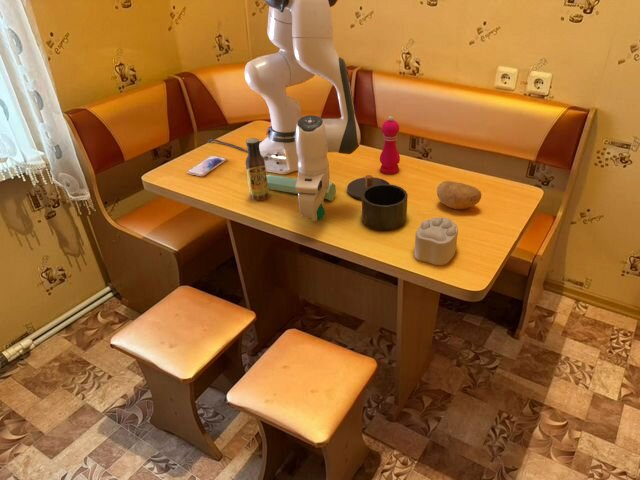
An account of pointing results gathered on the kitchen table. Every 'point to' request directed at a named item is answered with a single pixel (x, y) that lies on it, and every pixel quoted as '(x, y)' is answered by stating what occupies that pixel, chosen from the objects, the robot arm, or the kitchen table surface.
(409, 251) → the kitchen table surface
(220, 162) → the smartphone
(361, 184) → the pot lid
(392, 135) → the pepper mill
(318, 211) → the ball
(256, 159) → the sauce bottle
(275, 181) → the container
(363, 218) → the pot
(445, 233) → the lumpy-topped squat cylinder
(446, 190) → the potato
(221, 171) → the kitchen table surface
